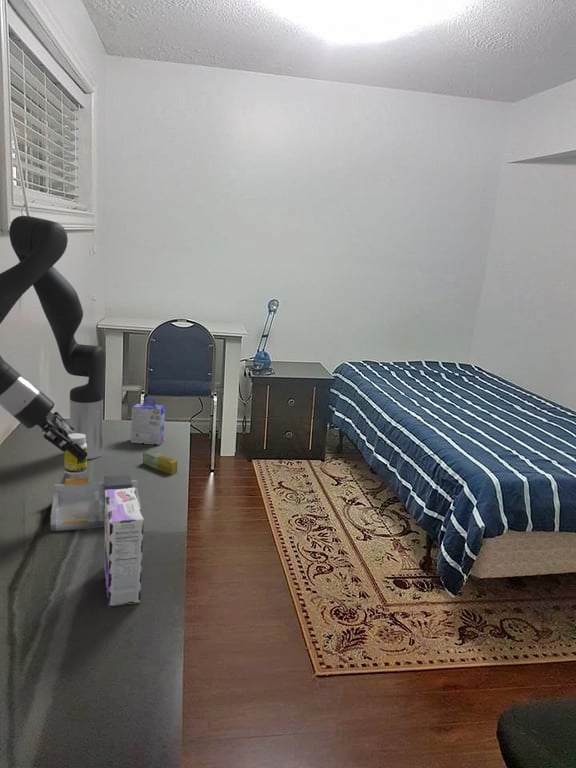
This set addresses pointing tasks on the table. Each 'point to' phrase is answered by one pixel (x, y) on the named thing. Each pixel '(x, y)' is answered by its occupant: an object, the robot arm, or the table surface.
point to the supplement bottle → (70, 461)
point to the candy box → (123, 546)
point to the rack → (84, 502)
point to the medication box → (160, 462)
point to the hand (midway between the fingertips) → (84, 453)
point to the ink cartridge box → (147, 423)
